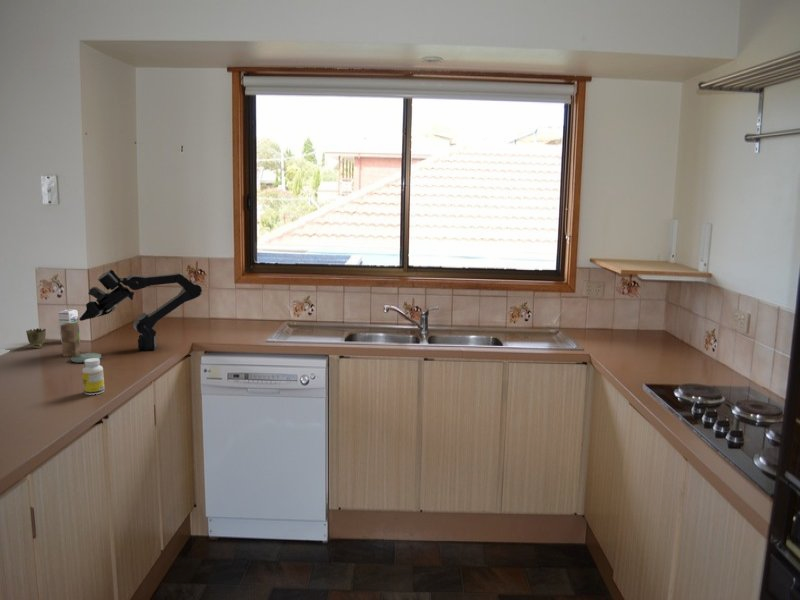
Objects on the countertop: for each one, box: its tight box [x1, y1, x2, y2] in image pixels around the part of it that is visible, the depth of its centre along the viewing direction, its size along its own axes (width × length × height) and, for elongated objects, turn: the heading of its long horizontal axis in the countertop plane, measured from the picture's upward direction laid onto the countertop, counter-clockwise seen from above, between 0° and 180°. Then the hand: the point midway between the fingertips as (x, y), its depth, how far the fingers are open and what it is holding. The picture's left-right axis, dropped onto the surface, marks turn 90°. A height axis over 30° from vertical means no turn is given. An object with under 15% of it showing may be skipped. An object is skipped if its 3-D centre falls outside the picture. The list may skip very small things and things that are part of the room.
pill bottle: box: [82, 358, 106, 396], centre depth 227 cm, size 6×6×12 cm
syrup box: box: [57, 308, 81, 344], centre depth 298 cm, size 6×6×14 cm
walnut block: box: [60, 323, 81, 357], centre depth 276 cm, size 5×5×13 cm
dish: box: [70, 352, 102, 364], centre depth 269 cm, size 11×11×1 cm
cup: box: [25, 327, 47, 349], centre depth 288 cm, size 8×7×8 cm
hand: (84, 318), depth 277 cm, fingers open, 9 cm apart
